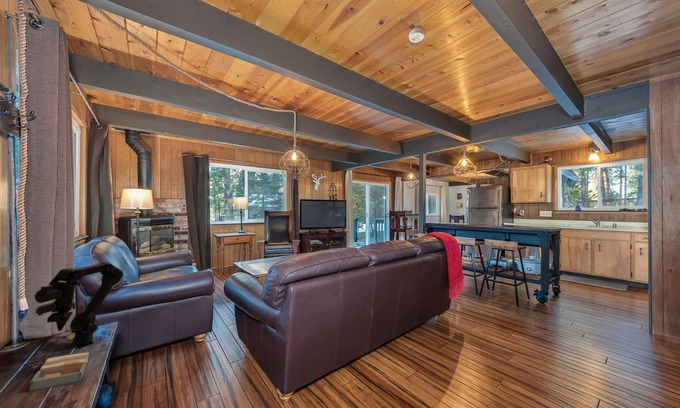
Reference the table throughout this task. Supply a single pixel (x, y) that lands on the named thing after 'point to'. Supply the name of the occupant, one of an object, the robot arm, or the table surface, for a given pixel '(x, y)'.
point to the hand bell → (71, 335)
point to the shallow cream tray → (57, 363)
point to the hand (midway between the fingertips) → (59, 330)
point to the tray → (55, 380)
